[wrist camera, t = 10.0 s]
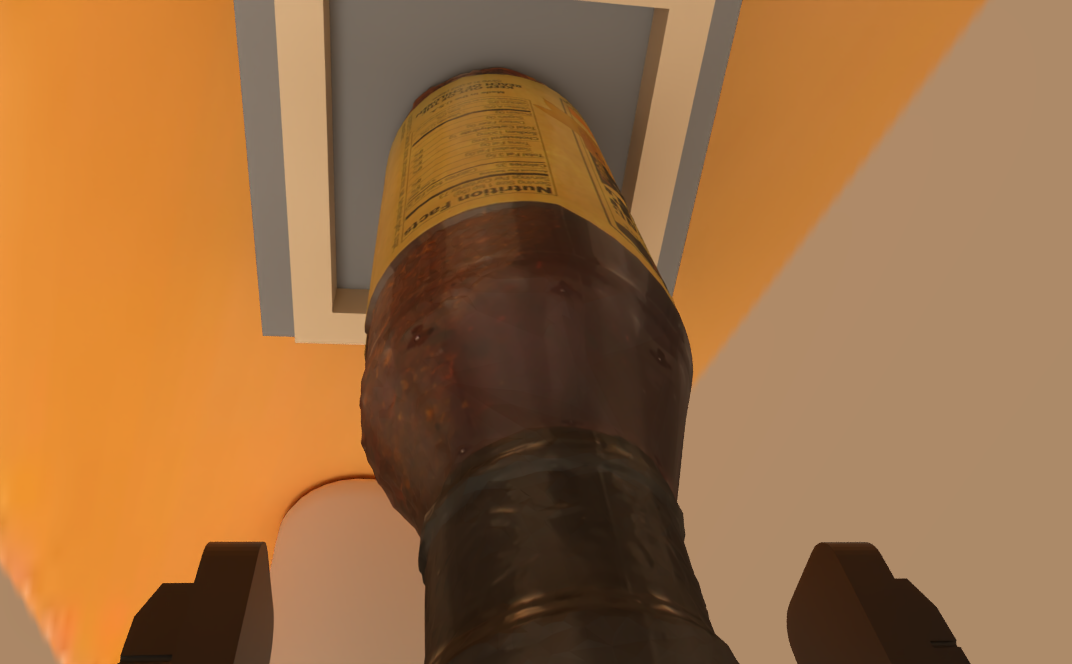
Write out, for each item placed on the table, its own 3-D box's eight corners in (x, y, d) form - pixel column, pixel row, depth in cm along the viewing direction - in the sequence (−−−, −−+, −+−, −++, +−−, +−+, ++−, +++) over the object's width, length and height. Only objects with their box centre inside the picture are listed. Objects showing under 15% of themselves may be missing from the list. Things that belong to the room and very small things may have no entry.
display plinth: (717, -93, 26) (778, -64, 21) (637, 291, 33) (669, 372, 29) (251, -147, 24) (208, -127, 19) (280, 276, 31) (255, 361, 27)
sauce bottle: (574, 253, 27) (779, 962, 11) (384, 240, 26) (306, 997, 10) (609, 55, 24) (987, 678, 8) (391, 31, 23) (285, 690, 7)
